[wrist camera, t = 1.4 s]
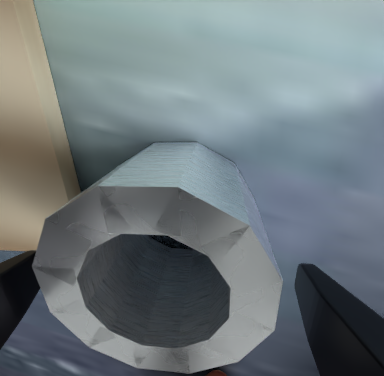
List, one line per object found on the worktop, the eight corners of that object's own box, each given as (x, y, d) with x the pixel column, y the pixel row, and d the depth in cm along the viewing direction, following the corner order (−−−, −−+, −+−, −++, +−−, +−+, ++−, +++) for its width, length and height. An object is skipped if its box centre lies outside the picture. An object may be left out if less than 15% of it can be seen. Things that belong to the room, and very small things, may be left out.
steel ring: (247, 271, 12) (265, 381, 7) (123, 264, 13) (69, 361, 8) (258, 141, 9) (298, 188, 5) (99, 143, 10) (-2, 184, 5)
